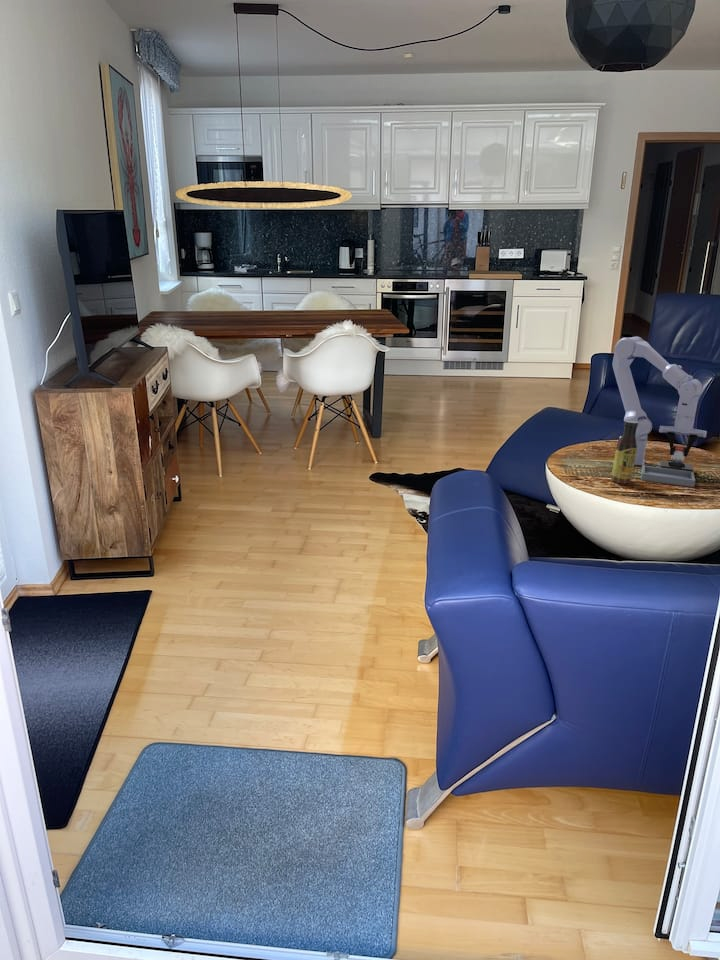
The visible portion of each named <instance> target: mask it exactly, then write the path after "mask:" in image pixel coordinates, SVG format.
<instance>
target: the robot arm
mask: <svg viewBox="0 0 720 960" xmlns="http://www.w3.org/2000/svg"><path fill="white" fill-rule="evenodd" d="M613 349H614V353H613V359H612V364H611V365H612V366H611V367H612V369H613V373H614V376H615V379H616V380H615V381H616V384H617V386H618V390H619V391H618V392H619V393H620V397H621V398H620V399H621V401H622V404H623V409H624V411H625V415H624V418H623V422H625V421H627V420H628V421H636V422H638V427H637V429H636V435H635V437H636V444H637V452H636V458H635V463H634V466H642V465H644V466H646V465H645V464H646V463H645V462H646V461H645V455H646V449H647V443H648V438H649V437H648V434H650V433H651V431H652V429H653V423H652V422H651V420H650V419H649V418H648V415H647V413H646V412H645V411H644V410H643V408H642V406H641V401H640V398H639V395H638V392H637V389H636V385H635V381H634V378H633V375H632V370H631V368H630V365H632V363H633V361H634V360H635V358H636V357H637V358H644V359H646V361H648V362H649V363H650V364H652V365H653V366H654V367H656V368H657V369H658V370H659V371H661V372H662V378H663V379H664V380H666V382H667V383H668V384H670V385H671V386H672V387H673V388H675V389H676V390H677V393H678V395H679V400H678V404H677V410H676V415H675V420H674V425H672V426H669V425H659V429H658V432H659V433H666V436H667V438H668V442H669V455H670V456H672V454H673V446H674V445H675V440H676V435H684V436H687V441H686V442H687V443H686V446H685V447H686V452H685V457H684V458H687V457H688V454H689V452H690V450H691V449H692V447H693V446H694V444H695V442H697V440H698V437H699V438H700V437H701V438H707V433H708V431H707V430H703V429H697V428H693V427H694V423H695V419H696V418H695V417H696V412H697V407H698V400H699V395H700V394H701V393H702V392H703V388H704V387H703V384H702V382H700V380H699V379H696V378H694V377H693V376H692V375H691V374H690V375H689V374H688V373H687V372H686V371H684V370H683V369H682V368H683V366H681V365H680V364H679V365H677V364H676V363H673V364H670V363H669V362H668V361H667V360H666V359H665V358H664V357H662V355H661V354H660V353H659V352H657V351H656V350H655V348H653V347H652V346H651V345H650V344H649V342H648V341H646V340H644V339H643V338H642V337H641V336H637V335H636V336H632V337H622V338H620V339H619V340H618V341H617V342H616V344H615V346H613ZM621 437H622V435H620V436H619V439H620V438H621Z"/></svg>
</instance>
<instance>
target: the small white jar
mask: <svg viewBox="0 0 720 960" xmlns="http://www.w3.org/2000/svg"><path fill="white" fill-rule="evenodd" d="M686 447H687V446H685V445H681V444H674V445H673V454H672V455H671V458H670V461H671V463H670V466H675V467H683V463H685V458H686V457H685V452H686Z"/></svg>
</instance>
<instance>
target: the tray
mask: <svg viewBox="0 0 720 960" xmlns="http://www.w3.org/2000/svg"><path fill="white" fill-rule="evenodd" d="M695 477H696V476H695V474H694V471H693V472H690V471H683V470H675V469H667V468H660V466H653V465H652V466H650V465H641V470H640V480H641V481H646V482H652V483H653V482H655V483H661V484H668V485H674V486H675V485H676V486H683V487H691V488H694V487H695V484H696V478H695Z"/></svg>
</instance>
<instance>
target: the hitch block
mask: <svg viewBox="0 0 720 960" xmlns="http://www.w3.org/2000/svg"><path fill="white" fill-rule="evenodd" d="M659 463H660V464H659V467H660V468H667V469H675V470H683V471H690V472H694V466H693V463H687V462H683V467H675V466H670V463H671V460H670V461H669V460H663V459H661V460H660V462H659Z"/></svg>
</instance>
